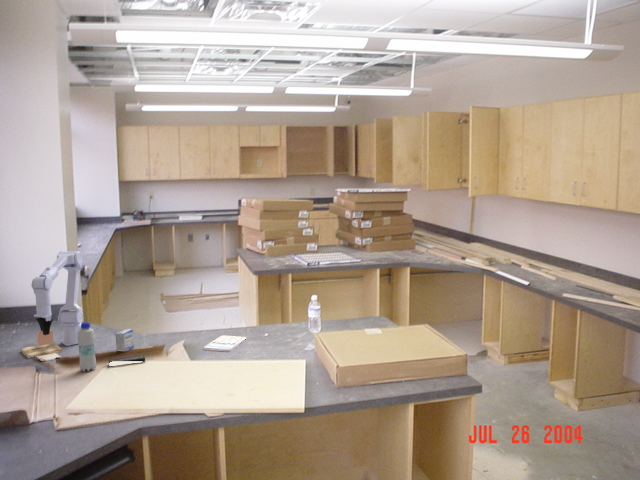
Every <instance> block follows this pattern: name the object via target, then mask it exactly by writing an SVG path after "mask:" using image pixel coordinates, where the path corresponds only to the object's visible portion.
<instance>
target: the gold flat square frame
mask: <svg viewBox="0 0 640 480" xmlns="http://www.w3.org/2000/svg"><path fill="white" fill-rule="evenodd" d="M20 352H21V353H22V354H23V355H24V356H25V357H26V358H27V360H31V359H30V358H28V357H27V355H31V356H36V357H38V356H43V355H48V354H53V353H56V354H60V353H63V349H62V347H60V345H58V344H56V342H54V341H53V344H47V345H42V346H38V345H32V346H27V347H21V348H20ZM36 357H35V358H36Z"/></svg>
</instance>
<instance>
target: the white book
mask: <svg viewBox="0 0 640 480" xmlns="http://www.w3.org/2000/svg"><path fill="white" fill-rule="evenodd" d="M245 339H246V340H247V337H246V336H234V335H223V334H222V335H220V336H219V337H217V338H216V339H214V340H212V341H211V342H209V343H208V344H206V345H205V346H204V347H203V350H204V351H215V352H216V351H217V352H231V351H233V350H234V349H235V348H237V347H238V346H240V345H241V344H242V343H244V342H245V341H246V340H245ZM244 340H245V341H244ZM243 341H244V342H243ZM241 342H242V343H241ZM240 343H241V344H240ZM239 344H240V345H239Z"/></svg>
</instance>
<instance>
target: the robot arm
mask: <svg viewBox="0 0 640 480" xmlns="http://www.w3.org/2000/svg"><path fill="white" fill-rule="evenodd" d="M83 260H84V257H83V254H82V253H81V251H80V250H78V251H63V250H61V251H59V252H58V253H57V254H56V259H55V261H54V263H53V264H52V265H51V266H46V268H45V269H44V270H43V272H41V274H40V275H38V276H35V277H34V278H33V279H32V281H31V284H30V285H31V288H32V290H33V294H34V296H35V306H36V309H35V310H36V314H35V313H34V314H33V317H34V318H35V317H36V318H35V320H36V322H37V324H38V325H39V329H40V331H43V334H44V335H48V334H49V332H50V329H51V326H52V323H53V321H54V319H53V318H52V306H51V304H52V303H51V289H52V287H53V283H54V281H55V280H56V279H57V277H58V276H59V271H60V270H62V269H63V270H67V279H66V280H67V281H66V283H67V284H66V295H65V304H64V305H63V306H61V307H60V308H59V313H58V315H57V320H58V323H59V324H60V325H61V327H62V331H63V341H61V343H62V344H63V345H64V346H66V347H68V346H73V345H79V343H78V340H77V337H78V331H79V330H80V329H81V324H82V323H83V320H84V315H83V314H84V313H83V307H81V306H79V305H78V297H79V287H80V273H81V269H82V268H83V262H84V261H83Z"/></svg>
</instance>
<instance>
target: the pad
mask: <svg viewBox="0 0 640 480" xmlns="http://www.w3.org/2000/svg"><path fill="white" fill-rule="evenodd" d="M38 357H39V358H42V359H45V360H46V361H45V362H50V361H54V360H56V359H55V358H56V357H61V356H60V355H59V353H53V354H48V355H43V356H38Z"/></svg>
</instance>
